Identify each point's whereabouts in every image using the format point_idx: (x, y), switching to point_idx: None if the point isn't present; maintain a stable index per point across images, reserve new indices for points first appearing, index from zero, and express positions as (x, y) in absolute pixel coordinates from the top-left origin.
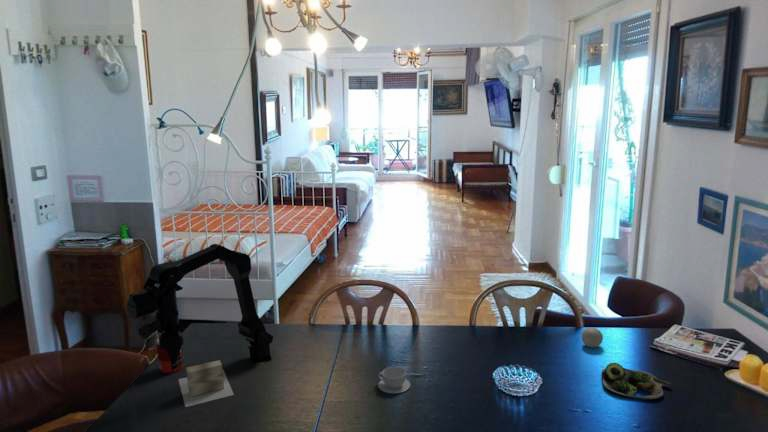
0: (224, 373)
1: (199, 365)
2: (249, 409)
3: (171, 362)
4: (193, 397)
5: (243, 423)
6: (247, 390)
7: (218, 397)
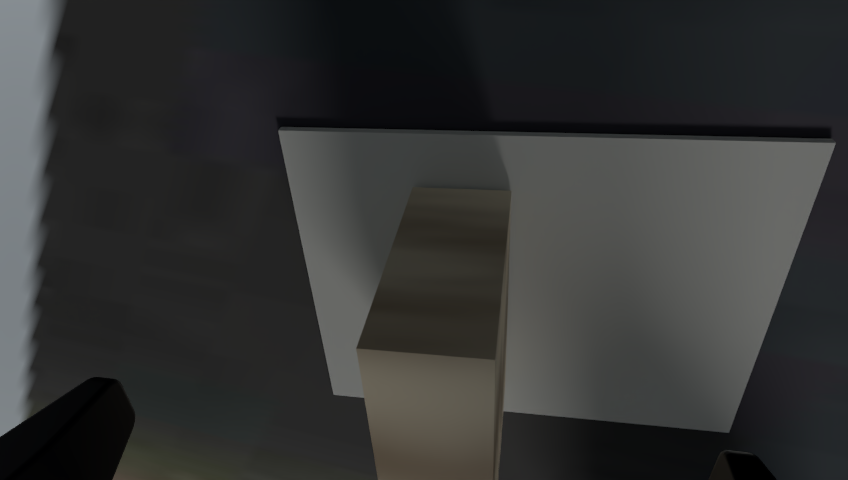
0: (647, 423)
1: (473, 453)
2: (169, 403)
3: (57, 406)
4: (403, 203)
5: (45, 354)
6: (365, 445)
7: (332, 329)
